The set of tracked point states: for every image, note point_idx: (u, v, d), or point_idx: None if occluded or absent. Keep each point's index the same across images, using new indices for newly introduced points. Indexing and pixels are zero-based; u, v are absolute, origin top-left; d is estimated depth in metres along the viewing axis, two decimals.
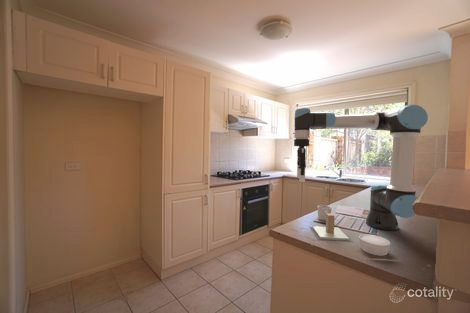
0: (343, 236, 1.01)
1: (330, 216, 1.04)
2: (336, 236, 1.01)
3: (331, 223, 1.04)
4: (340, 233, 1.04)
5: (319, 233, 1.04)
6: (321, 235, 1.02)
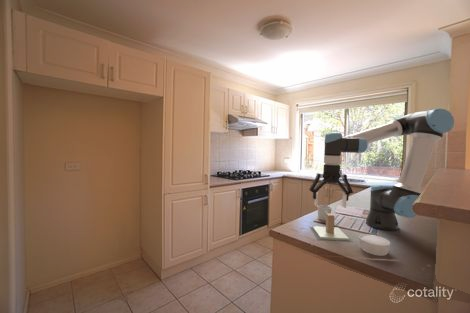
0: (343, 236, 1.01)
1: (330, 216, 1.04)
2: (336, 236, 1.01)
3: (331, 223, 1.04)
4: (340, 233, 1.04)
5: (319, 233, 1.04)
6: (321, 235, 1.02)
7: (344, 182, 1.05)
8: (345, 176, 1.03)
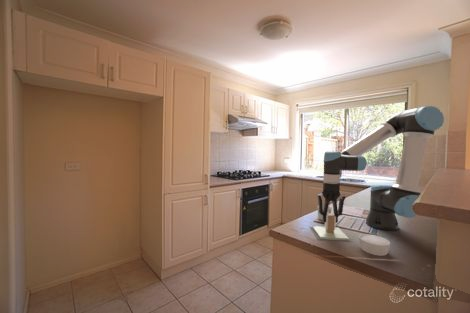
0: (343, 236, 1.01)
1: (330, 216, 1.04)
2: (336, 236, 1.01)
3: (331, 223, 1.04)
4: (340, 233, 1.04)
5: (319, 233, 1.04)
6: (321, 235, 1.02)
7: (339, 202, 1.05)
8: (343, 197, 1.03)
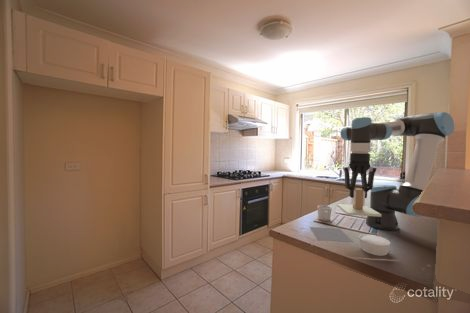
0: (374, 212, 0.89)
1: (358, 190, 0.93)
2: (366, 212, 0.89)
3: (360, 198, 0.93)
4: (370, 210, 0.93)
5: (346, 209, 0.93)
6: (348, 211, 0.91)
7: (368, 176, 0.94)
8: (374, 169, 0.92)
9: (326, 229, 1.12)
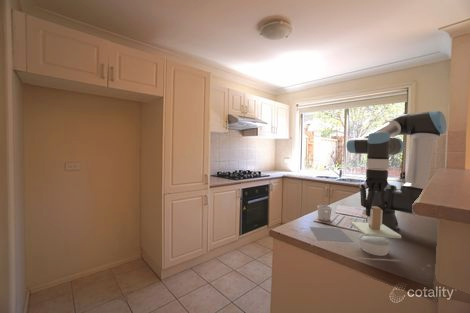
0: (393, 233, 0.84)
1: (376, 209, 0.87)
2: (385, 233, 0.84)
3: (377, 218, 0.87)
4: (387, 230, 0.87)
5: (362, 229, 0.87)
6: (366, 232, 0.85)
7: (385, 193, 0.89)
8: (392, 187, 0.86)
9: (326, 229, 1.12)
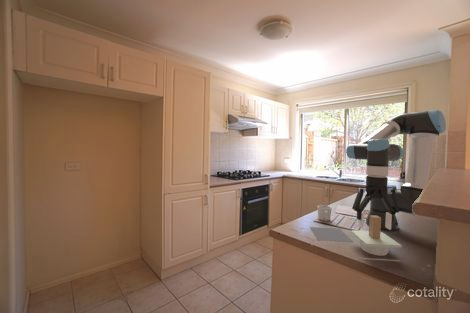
0: (393, 243, 0.84)
1: (376, 219, 0.88)
2: (385, 243, 0.84)
3: (377, 227, 0.88)
4: (387, 239, 0.88)
5: (363, 239, 0.87)
6: (367, 241, 0.85)
7: (390, 198, 0.89)
8: (393, 191, 0.87)
9: (326, 229, 1.12)
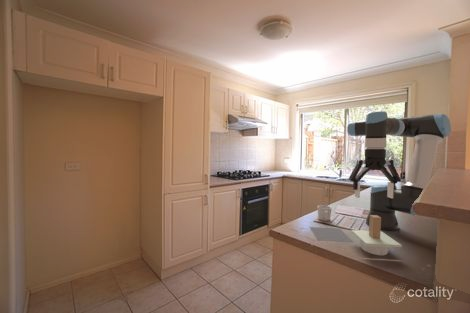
0: (393, 242, 0.85)
1: (376, 218, 0.88)
2: (385, 242, 0.85)
3: (377, 227, 0.88)
4: (387, 238, 0.88)
5: (363, 238, 0.88)
6: (366, 241, 0.86)
7: (389, 169, 0.91)
8: (391, 162, 0.89)
9: (326, 229, 1.12)
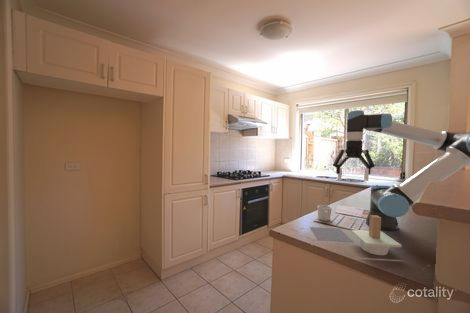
0: (393, 242, 0.85)
1: (376, 218, 0.88)
2: (385, 242, 0.85)
3: (377, 227, 0.88)
4: (387, 238, 0.88)
5: (363, 238, 0.88)
6: (367, 241, 0.86)
7: (366, 157, 1.12)
8: (367, 151, 1.09)
9: (326, 229, 1.12)
